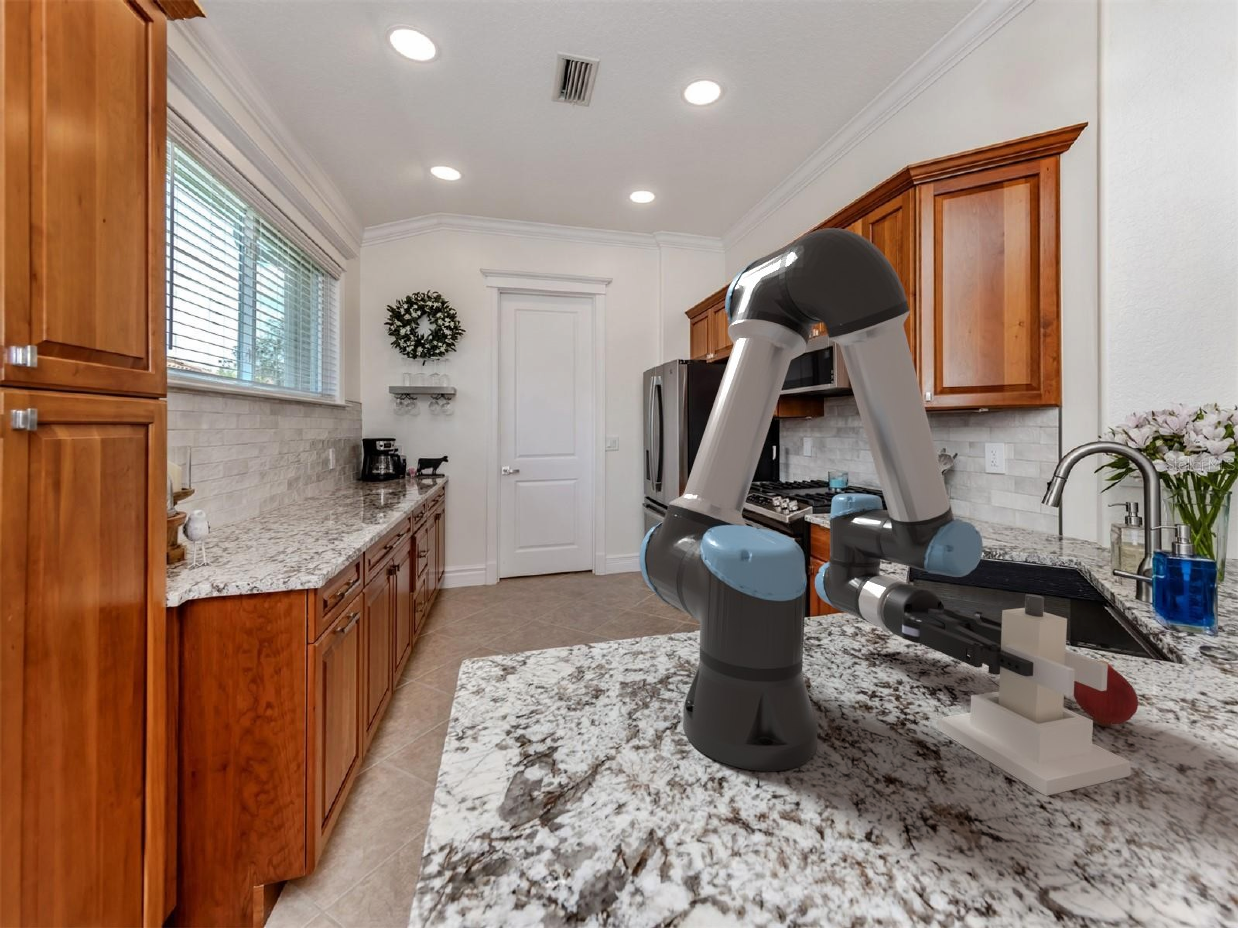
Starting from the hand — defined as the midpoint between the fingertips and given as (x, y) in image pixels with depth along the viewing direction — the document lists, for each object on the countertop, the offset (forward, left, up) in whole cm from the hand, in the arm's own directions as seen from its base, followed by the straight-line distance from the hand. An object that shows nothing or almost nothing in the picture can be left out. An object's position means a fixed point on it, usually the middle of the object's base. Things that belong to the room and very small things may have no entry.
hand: (1087, 680), depth 52 cm
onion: (+1, +17, -11) cm, 20 cm away
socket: (-5, +3, -10) cm, 12 cm away
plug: (-5, +3, -7) cm, 9 cm away
